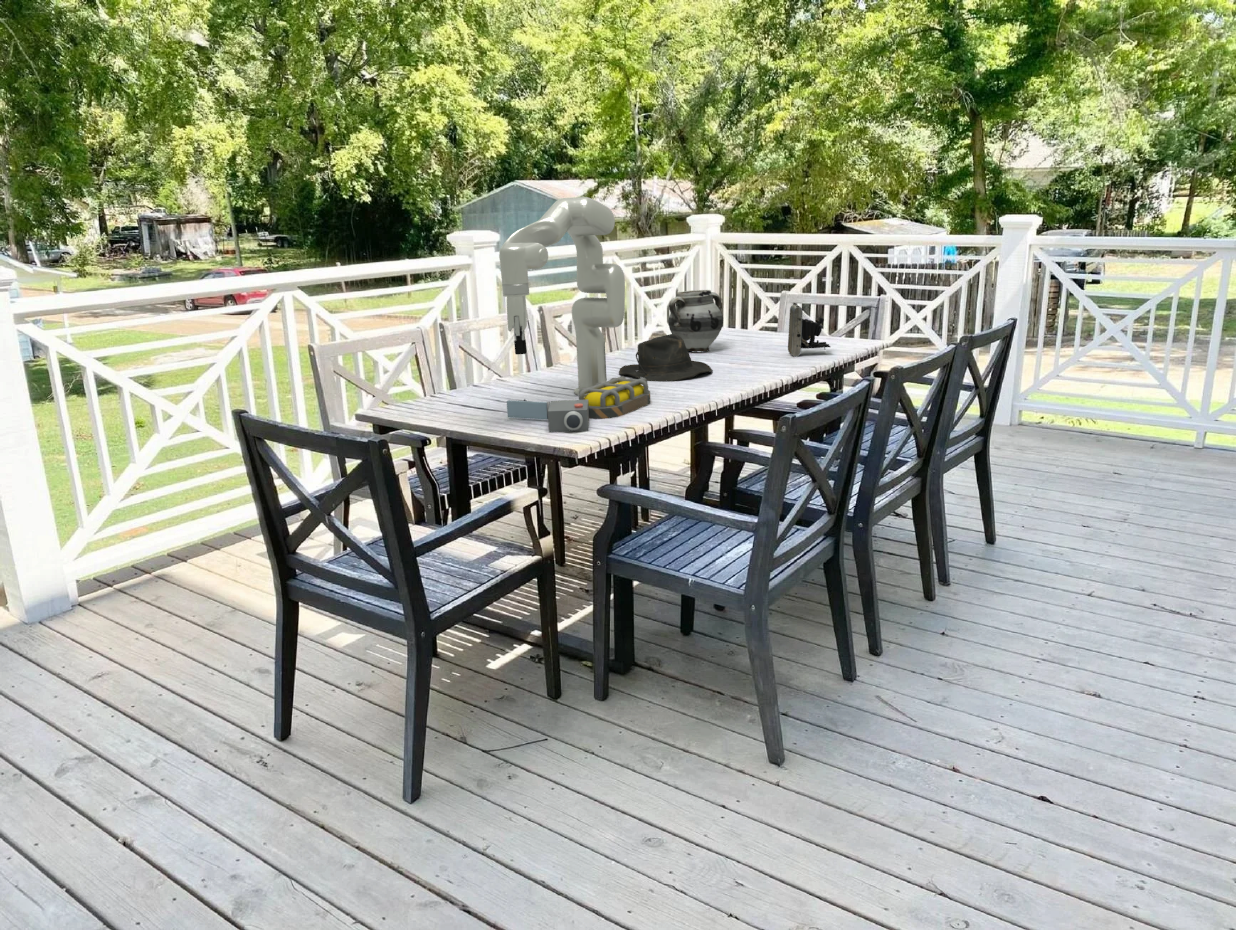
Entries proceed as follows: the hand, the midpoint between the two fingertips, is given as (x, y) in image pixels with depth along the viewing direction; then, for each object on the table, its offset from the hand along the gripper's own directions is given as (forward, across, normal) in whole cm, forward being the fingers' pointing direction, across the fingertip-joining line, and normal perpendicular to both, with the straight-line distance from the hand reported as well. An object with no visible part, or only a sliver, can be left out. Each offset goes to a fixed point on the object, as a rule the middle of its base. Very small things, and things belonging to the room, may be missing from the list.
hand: (521, 353), depth 269 cm
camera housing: (+20, +8, +13) cm, 25 cm away
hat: (+23, -69, +46) cm, 87 cm away
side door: (+20, -1, +1) cm, 20 cm away
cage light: (+21, -12, +27) cm, 36 cm away
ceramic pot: (+24, -116, +62) cm, 134 cm away
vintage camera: (+24, -96, +105) cm, 144 cm away
